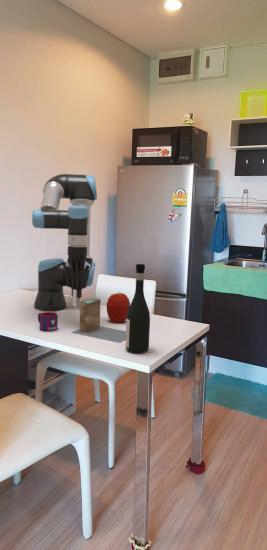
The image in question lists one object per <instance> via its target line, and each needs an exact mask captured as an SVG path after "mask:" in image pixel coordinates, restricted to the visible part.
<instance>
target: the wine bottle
mask: <svg viewBox="0 0 267 550" xmlns="http://www.w3.org/2000/svg"><path fill="white" fill-rule="evenodd" d="M145 269H146V265H145V264H144V263H137V264H135V292H134V294H133V298H132V299H131V301H130V307H129V309H128V313H127V319H126V320H125V322H126V324H125V326H126V328H125V331H126V340H125V349H126V351H128V352H130V353H132V354H143V353H146V352H147V351H148V350H149V348H150V331H151V330H150V329H151V327H150V326H151V315H150V310H149V307H148V304H147V300H146V297H145V294H144V293H145V291H144V288H145V287H144V282H145Z"/></svg>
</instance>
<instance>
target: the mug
mask: <svg viewBox="0 0 267 550" xmlns="http://www.w3.org/2000/svg"><path fill="white" fill-rule="evenodd" d="M58 318H59V315H58V313H57V312H55V311H42V312H39V313H38V314H37V320H38V323H39V330H40V332H44V333H46V332H47V333H51V332H55V331H57V330H58Z"/></svg>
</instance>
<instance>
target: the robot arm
mask: <svg viewBox="0 0 267 550" xmlns="http://www.w3.org/2000/svg"><path fill="white" fill-rule="evenodd" d="M42 192H43V193H42V194H43V196H42V201H41V204H40V207H39V208H37V209H33V210H32V214H31V222H32V227H33V228H36V229H41V230H42V229H53V230H54V229H56V230H59V229H61V230H63V229H64V230H67V245H68V247H67V259H66V261H65V260H64V259H63V258H61V257H60V258H59V257H58V258H49V259H44V260H40V261H39V263H38V267H37V272H38V273H37V274H38V275H37V281H38V282H37V288H38V290H37V294H36V297H35V301H34V305H33V307H34V309H35V310H38V311H42V312H55V311H61V310H62V311H63V310H65V309H67V300H66V297H65V295H64V294H65V293H64V287H68V288H70V289H71V297H72V307H80V301H81V298H82V297H83V296H82V290H83V289H84V290H85V289H87V287H91V286H92V285H93V282H94V277H95V270H96V264H97V263H96V262H95V261H93V259H94V258H93V257H92V256H91V255H90V253H91V252H90V251H91V250H90V249H91V248H90V247H91V243H90V242H91V212H92V211H91V208H92V206H93V205H94V204H95V201H96V200H97V199H98V193H97V184H96V178H95V177H94V176H93V175H90V174H89V175H88V174H70V173H62V174H61V173H60V174H56V175H54V176H53V177H50V178H49V179H48V180H47V181H46V182H45V183H44V185H43V190H42ZM62 199H66V200H68V199H69V203H70V205H69V206H68V208H67V209H68V210H65V209H63V210H61V209H60V210H59V208H60V203H61V200H62Z"/></svg>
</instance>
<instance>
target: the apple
mask: <svg viewBox="0 0 267 550" xmlns="http://www.w3.org/2000/svg"><path fill="white" fill-rule="evenodd" d="M105 305H106V313H107V316H108V319H109V320H110V321H111V322H112V323H115V324H122V323H124V322H126V319H127V313H128V309H129V307H130V305H131V301H130V298H129V297H128V296H127V294H125V293H122V292H118V293H112V294H111V295H110V296H109V298H108V299H107V302H106V304H105Z"/></svg>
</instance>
